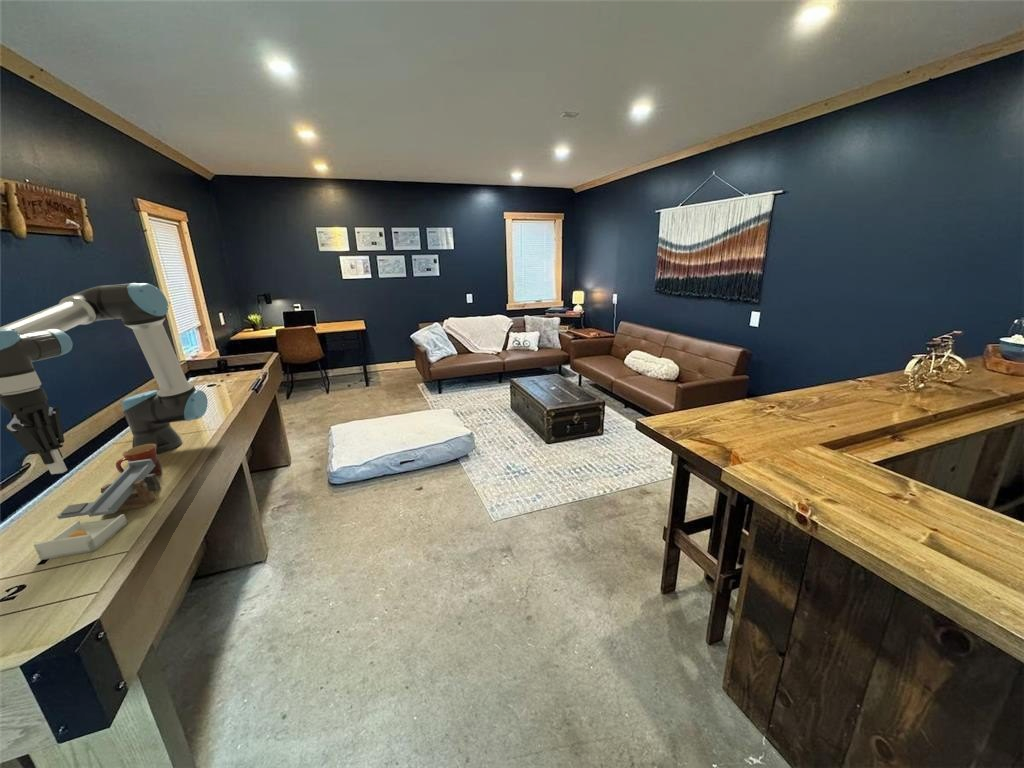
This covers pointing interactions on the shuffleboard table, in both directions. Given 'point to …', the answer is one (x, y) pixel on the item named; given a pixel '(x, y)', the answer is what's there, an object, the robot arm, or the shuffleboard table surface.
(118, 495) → the lever
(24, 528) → the shuffleboard table surface
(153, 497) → the fulcrum
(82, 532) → the ball
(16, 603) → the shuffleboard table surface
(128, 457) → the mug
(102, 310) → the robot arm
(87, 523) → the tray
